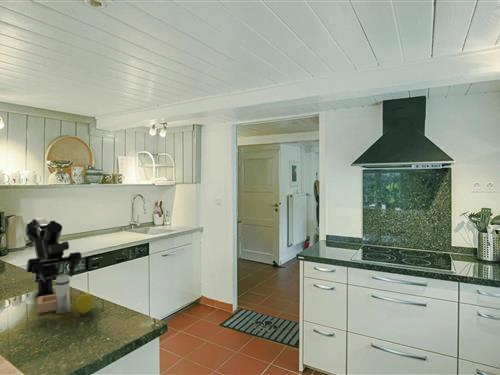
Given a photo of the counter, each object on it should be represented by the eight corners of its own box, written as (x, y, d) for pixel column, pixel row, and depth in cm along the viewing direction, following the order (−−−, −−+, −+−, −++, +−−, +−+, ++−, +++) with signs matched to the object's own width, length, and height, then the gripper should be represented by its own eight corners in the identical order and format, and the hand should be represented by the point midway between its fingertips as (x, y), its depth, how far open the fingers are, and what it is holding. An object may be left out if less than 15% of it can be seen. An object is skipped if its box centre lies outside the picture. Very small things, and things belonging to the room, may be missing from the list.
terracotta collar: (38, 305, 125) (38, 296, 125) (65, 300, 130) (65, 292, 130) (37, 313, 117) (37, 304, 117) (65, 308, 122) (65, 299, 122)
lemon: (72, 315, 115) (72, 294, 115) (86, 310, 120) (86, 289, 120) (82, 318, 112) (81, 296, 112) (95, 312, 117) (95, 292, 117)
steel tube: (56, 310, 120) (55, 275, 120) (70, 308, 122) (69, 273, 122) (55, 315, 116) (55, 278, 116) (70, 312, 118) (69, 276, 118)
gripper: (27, 238, 120) (33, 272, 112) (79, 233, 133) (88, 262, 125) (24, 255, 125) (29, 288, 117) (74, 248, 138) (82, 278, 131)
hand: (59, 278), depth 123 cm, fingers open, 9 cm apart
